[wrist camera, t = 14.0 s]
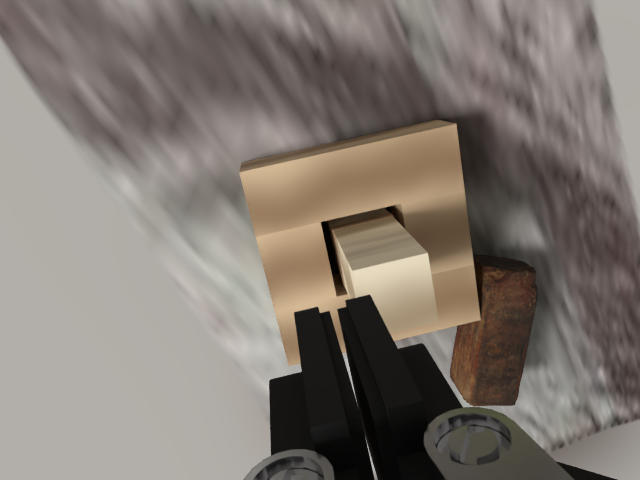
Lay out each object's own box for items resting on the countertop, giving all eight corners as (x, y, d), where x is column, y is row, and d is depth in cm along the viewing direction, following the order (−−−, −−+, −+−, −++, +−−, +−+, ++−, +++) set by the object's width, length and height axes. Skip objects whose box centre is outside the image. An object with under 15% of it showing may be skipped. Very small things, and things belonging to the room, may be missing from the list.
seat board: (241, 162, 37) (239, 172, 33) (436, 119, 37) (456, 123, 33) (286, 339, 41) (288, 365, 37) (460, 298, 41) (480, 320, 38)
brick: (492, 375, 44) (518, 408, 40) (446, 374, 44) (468, 408, 39) (515, 254, 41) (546, 275, 37) (466, 252, 41) (492, 273, 36)
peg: (324, 213, 38) (351, 270, 27) (379, 201, 39) (428, 251, 27) (335, 265, 40) (365, 340, 28) (388, 252, 40) (439, 322, 28)
